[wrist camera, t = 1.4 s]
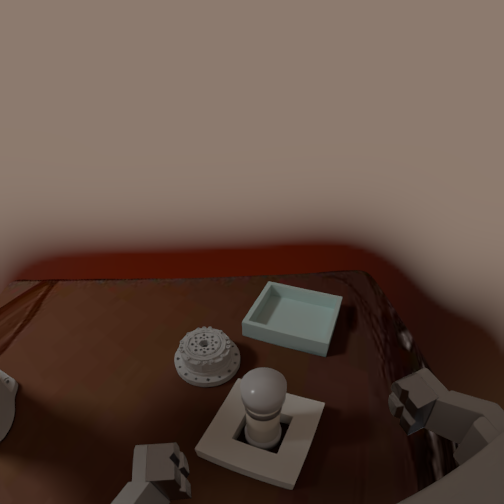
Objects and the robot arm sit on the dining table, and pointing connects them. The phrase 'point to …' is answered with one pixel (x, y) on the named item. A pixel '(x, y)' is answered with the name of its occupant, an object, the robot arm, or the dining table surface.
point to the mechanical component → (207, 357)
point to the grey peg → (263, 406)
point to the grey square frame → (255, 459)
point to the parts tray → (293, 318)
